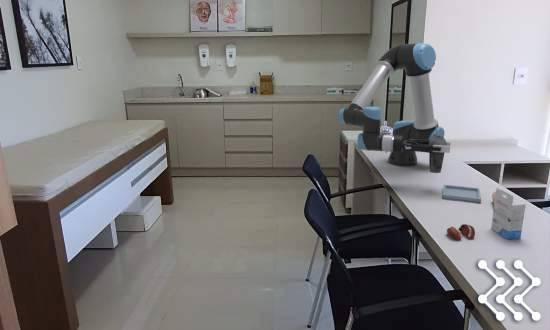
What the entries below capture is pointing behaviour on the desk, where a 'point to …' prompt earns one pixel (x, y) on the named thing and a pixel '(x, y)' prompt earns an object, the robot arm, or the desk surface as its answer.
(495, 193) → the brown egg
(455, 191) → the tray
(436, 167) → the beverage cup
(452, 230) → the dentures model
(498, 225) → the ink box
